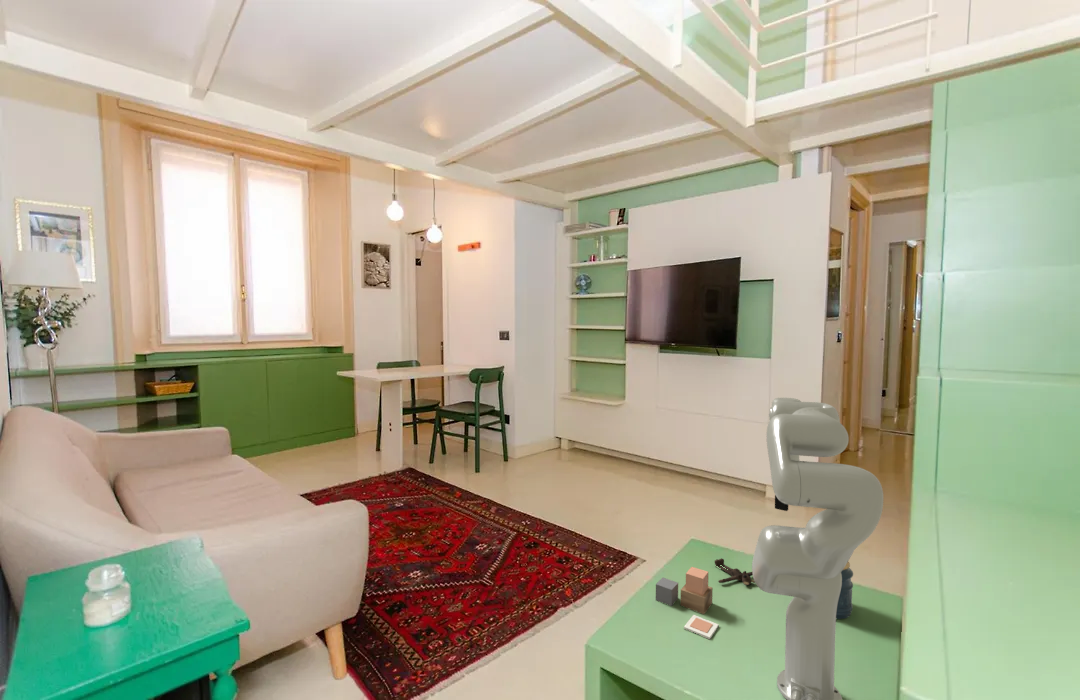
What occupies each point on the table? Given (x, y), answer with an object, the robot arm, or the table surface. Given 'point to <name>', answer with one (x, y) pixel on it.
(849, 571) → the canister
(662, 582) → the charcoal block
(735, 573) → the brown spindly figurine
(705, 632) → the card
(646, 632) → the table surface
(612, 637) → the table surface
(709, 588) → the walnut block
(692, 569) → the terracotta block
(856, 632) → the table surface
